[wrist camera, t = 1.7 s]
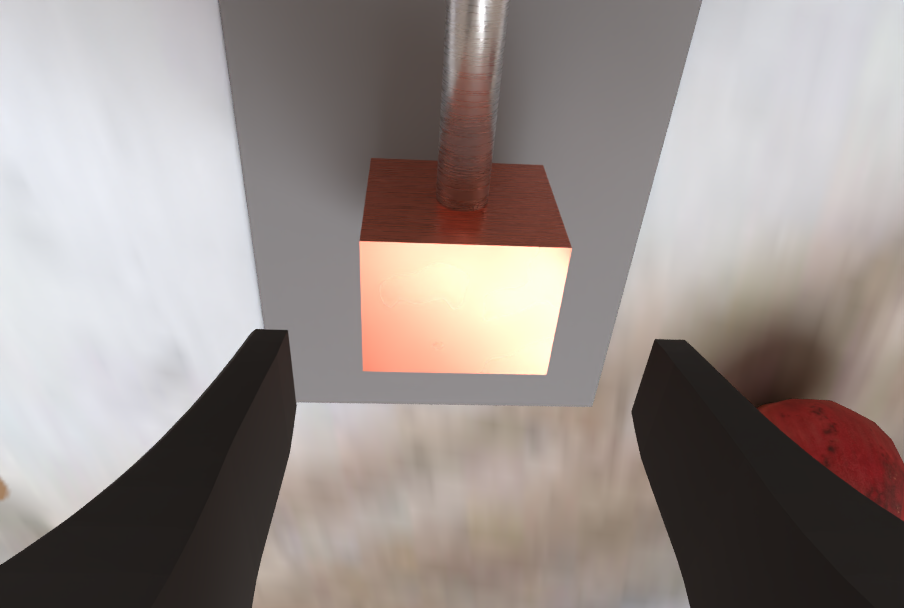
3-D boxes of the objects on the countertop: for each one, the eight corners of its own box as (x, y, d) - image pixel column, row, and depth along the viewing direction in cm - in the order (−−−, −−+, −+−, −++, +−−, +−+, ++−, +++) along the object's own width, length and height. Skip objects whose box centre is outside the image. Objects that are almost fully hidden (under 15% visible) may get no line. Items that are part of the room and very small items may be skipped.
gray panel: (150, -508, 11) (146, -512, 11) (815, -436, 12) (821, -440, 12) (275, 397, 25) (275, 401, 24) (591, 402, 25) (592, 407, 25)
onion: (769, 331, 24) (900, 525, 17) (875, 384, 25) (1027, 577, 19) (662, 429, 26) (740, 626, 20) (764, 471, 28) (864, 663, 22)
